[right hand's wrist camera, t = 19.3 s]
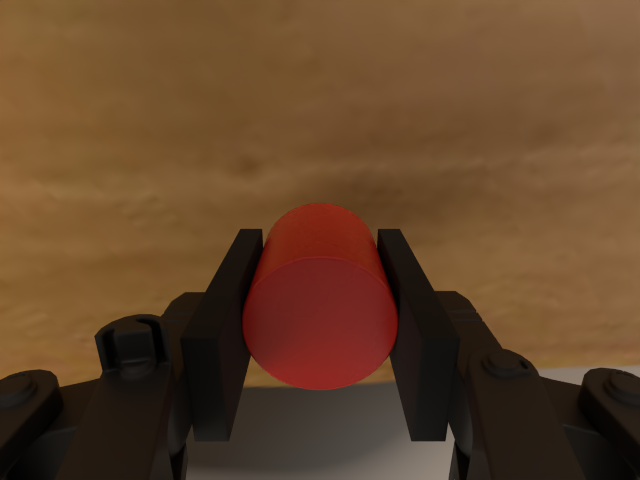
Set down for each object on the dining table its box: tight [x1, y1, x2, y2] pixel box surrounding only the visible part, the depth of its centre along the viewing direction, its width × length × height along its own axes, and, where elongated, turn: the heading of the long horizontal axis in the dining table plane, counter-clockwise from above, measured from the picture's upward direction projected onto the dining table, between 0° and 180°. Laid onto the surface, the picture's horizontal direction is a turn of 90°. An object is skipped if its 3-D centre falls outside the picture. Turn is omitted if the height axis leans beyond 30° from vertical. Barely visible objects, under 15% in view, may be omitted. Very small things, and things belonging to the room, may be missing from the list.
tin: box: [242, 203, 399, 390], centre depth 12 cm, size 4×4×5 cm
